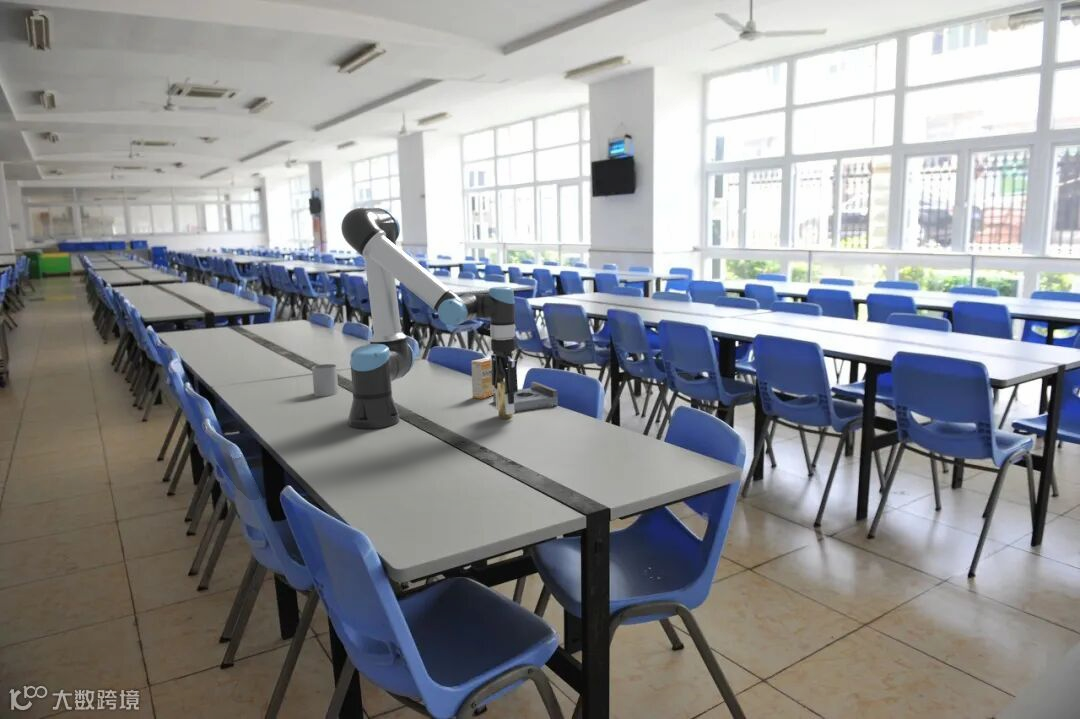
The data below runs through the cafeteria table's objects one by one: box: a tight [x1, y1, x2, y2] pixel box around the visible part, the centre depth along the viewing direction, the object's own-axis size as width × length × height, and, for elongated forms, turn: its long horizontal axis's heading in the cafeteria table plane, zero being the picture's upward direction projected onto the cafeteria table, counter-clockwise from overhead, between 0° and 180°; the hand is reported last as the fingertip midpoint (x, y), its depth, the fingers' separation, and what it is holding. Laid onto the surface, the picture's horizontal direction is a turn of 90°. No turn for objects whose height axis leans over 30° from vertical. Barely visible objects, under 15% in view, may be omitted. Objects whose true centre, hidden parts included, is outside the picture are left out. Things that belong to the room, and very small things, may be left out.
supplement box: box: [471, 357, 496, 400], centre depth 260 cm, size 8×5×13 cm, turn 143°
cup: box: [311, 363, 339, 397], centre depth 269 cm, size 8×8×10 cm
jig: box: [492, 381, 559, 412], centre depth 249 cm, size 16×16×5 cm
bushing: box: [497, 380, 514, 420], centre depth 232 cm, size 4×4×11 cm
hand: (505, 411), depth 233 cm, fingers open, 6 cm apart
